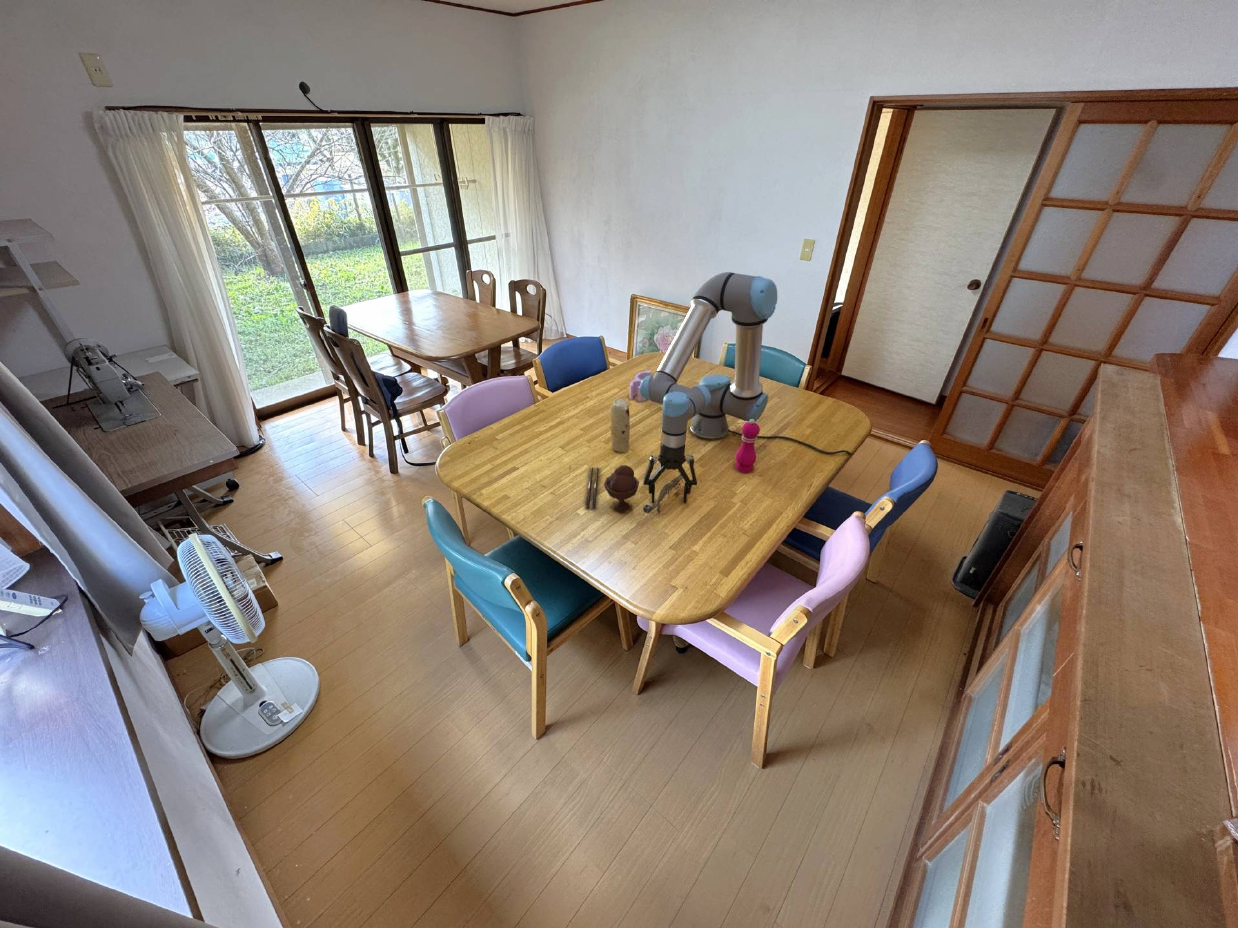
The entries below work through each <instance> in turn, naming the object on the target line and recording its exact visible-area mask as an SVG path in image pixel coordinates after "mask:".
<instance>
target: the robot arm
mask: <svg viewBox="0 0 1238 928" xmlns="http://www.w3.org/2000/svg"><path fill="white" fill-rule="evenodd" d="M777 303H778V289H777V285H776V283H775V282H774V281H773V280H772V279H770V278H766V277H763V276H762V275H761V276H760V275H757V276H756V275H750V274H743V273H735V272H732V271H725V272H721V273H718V274H716V275H714V276H713V277H711V278H709V279H708V280H706V281H705V282H704V283H703V284H702V285H701V286H700V287H699V288H698V290H697V291H696V292H695V293H694V294H693V297H692V298H691V300H690V302H689V306H690V309H689V310H688V312H687V314H686V316H685V318H684V320H683V322H682V323H681V325H680V327H679V329H678V331H677V333H676V335H675V336H674V338H673V340H672V341H671V343H670V346H669V347H668V349H667V351H666V353H665V355H664V357H663V358H662V360H661V362H660V364H659V366H658V367H657V369H656V371H655V372H654V374H653V375H651V376H646V377H645V378H644V379H643V380H642V382H641V385H640V394H641V396H642V397H643V398H645V399H646V400H648V401H650V402H652V403H656V404H660V405H662V407H661V411H662V412H661V431H660V432H661V433H660V445H659V447H660V448H659V454H658V456H654V455H652V454H651V455H649V463H648V466H647V468H646V470H645V474H644V476H643V480H642V481H643V485H644V486H648V494H649V495H651V504H655V496H656V482H657V481H658V480H659V478H660V477H661V476H662V474H663V473H664V472H665V471H671V470H673V471H676V470H677V471H678V472H679V475H680V474H681V475H682V477H683V479H682V480H683V481H684V483H683V484H684V485H683V496H682V501H683V504H685V505H686V504H687V499H688V495H691V494H692V493H691V491H692V487H693V486H698V479H697V474H696V471H695V470H696V469H695V456H694V455H689V456H686V454H685V453H686V443H687V432H688V431H687V430H688V421H689V420H691V419H692V420H691V422H690V426H689V431H690V433H691V434H692V435H693V436H695V437H697V438H698V439H702V440H707V441H709V440H710V441H716V440H721V439H723V438H725V437H726V436H727V435H728V434H729V433H731V434H735V435H736V436H740V437H742V435H743V433H739V432H737V431H734V430H730V429H729V424H728V420H727V416H726V415H728V416H730V417H733V418H736V419H739V420H742V421H744V422H749V421H750V420H751V419H754V420H755V422H758V420H759V419H761V417H762V415H763V414H764V411H765V410H766V407H767V405H768V403H769V402H768V401H769V394H768V393H767V392H764V386H763V383H761V381H760V372H761V360H762V359H761V358H762V344H763V331H764V330H763V329H764V325H765V324H767V322H768V321H769V319H770V318H771V317H772V316H773V314H774V313H775V311H776V308H777V307H776V305H777ZM721 311H725V312H729V313H731V322H732V323H733V324H734V325H735V346H734V347H735V348H734V349H735V353H734V381H733V382H732V383H731V381H732V380H731V378H730V377H729V376H728V375H725V374H709V375H706V376H704V377H702V378H701V379H700V380H699V383H698V385H695V386H691V387H689V386H685V385H682V384H679V383H678V381H679V379H680V377H681V376H682V374H683V371H684V370H685V368H686V367H687V364H688V362H689V361H690V359H691V357H692V355H693V353H694V351H695V349H696V348H697V346H698V344H699V343H700V340H701V339H702V336H703V335H704V333H705V331H706V329H707V328H708V325H709V324H710V322H711V320H712V319H715V318H716V317H717V316H718V314H719V312H721ZM757 439H784V440H789V441H793V442H795V443H798V444H800V445H804V446H806V447H808V448H811V449H813V450H815V451H818V452H819V453H823V454H827V455H836V454H841V453H846V454H848V456H852V453H851V452H850V451H848V450H846V449H843V450H837V451H826V450H822V449H820V448H817V447H816V446H814V445H813V444H812V445H811V444H809V443H807V442H804V441H801V440H799V439H796V438H792V437H789V436H782V435H770V436H769V435H767V436H766V435H764V436H763V435H757ZM657 462H659V466H658V467H657V469H656V470H655V471H654V472H653V470H654V468H655V465H656V464H657ZM685 462H686V464H687V465H688V466H689V471H690V474H691V478H690V477H689V475H688V473H687V471H686V470H685V469H684V467H683V465H684V464H685ZM652 473H653V474H652ZM651 475H652V476H651Z"/></svg>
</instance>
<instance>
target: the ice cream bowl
mask: <svg viewBox="0 0 1238 928" xmlns="http://www.w3.org/2000/svg"><path fill="white" fill-rule="evenodd" d="M603 486H604V489H605V491H606V492H607V495H609V497H611V498H612V499H615V500H618V501H616V502H614V503H613V505H612V507H613V510H614V511H615V512H617V513H626V512H628V511H630V508H631V504H630V503H629V502H628V501H626V500H628V499H630V498H632V497H635V495H636V493H637V492H638V489H639V486H640V481H639V480H638V479H637V478H636V476H635V471H634V469H633V468H632V467H631V466H629V465H627V464H622V465H619V466H618V467H616V468H615V469H614V471H613V472H612V473H610V476H608V477H606V478H605V481H604V483H603Z"/></svg>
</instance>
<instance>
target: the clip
mask: <svg viewBox="0 0 1238 928" xmlns="http://www.w3.org/2000/svg"><path fill="white" fill-rule="evenodd" d="M646 376H652V371H651V369H647V371H640V372H637V373H636V374H635V376H634V379H633V380H631V381H630V382H629V400H634V396H637V402H645V401H646V400H647V399H645V398H643V397H642V396H641V394H640V385H641V382H642V380H643V379H644V378H645V377H646Z"/></svg>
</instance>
